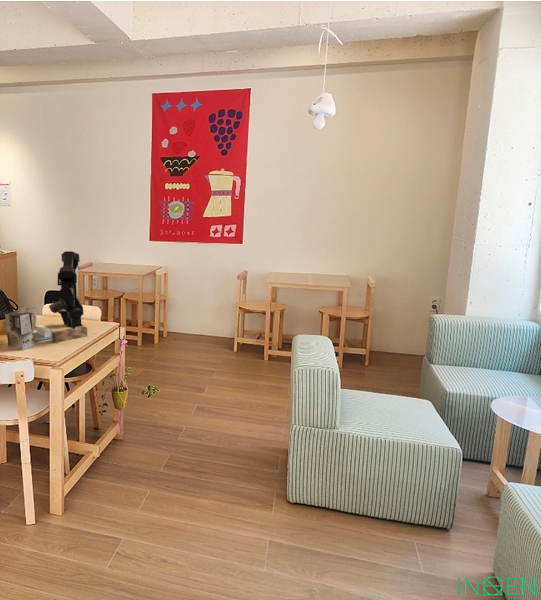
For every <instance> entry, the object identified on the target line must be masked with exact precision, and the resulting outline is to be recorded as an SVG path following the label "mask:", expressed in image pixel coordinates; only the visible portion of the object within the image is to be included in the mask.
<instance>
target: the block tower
mask: <svg viewBox="0 0 541 600" xmlns="http://www.w3.org/2000/svg"><path fill="white" fill-rule="evenodd" d="M19 311H20V312H28V313H31V316H32V330H33V332H34V331H35V328H36V326H37V307H36V306H32V307H31V306H29V307H20V308H19Z"/></svg>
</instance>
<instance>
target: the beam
mask: <svg viewBox="0 0 541 600" xmlns="http://www.w3.org/2000/svg"><path fill="white" fill-rule="evenodd" d="M53 331H54V332H52V339H51V342H53V343H54V344H55V343H56V344H57V343H63V342H68V341H73V340H77V339H81V338H82V339H83V338H87V337H88V327H86V326H84V325H82V326H76V327H75V329H72V327H70V328H66V329H61V330H56V331H55V330H53ZM72 339H73V340H72ZM67 340H68V341H67Z"/></svg>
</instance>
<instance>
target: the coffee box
mask: <svg viewBox="0 0 541 600" xmlns="http://www.w3.org/2000/svg"><path fill="white" fill-rule="evenodd" d="M4 315H5V326H6V327H5V328H6V336H7V347H9V348H10V349H15V350H21V351H24V350H26V349H29V348H34V345H35V344H34V340H33V333H34V331H33V330H32V316H31V313H28V312H20V310H19V311H18V310H15V311H11V312H8V313H5V314H4Z"/></svg>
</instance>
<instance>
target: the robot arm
mask: <svg viewBox="0 0 541 600" xmlns="http://www.w3.org/2000/svg"><path fill="white" fill-rule="evenodd" d="M60 255H61V262H62V263H63V264H62V266H61V267H60V268H59V271H58V272H57V286H60V290H58V297H59V300H58V301H56V302H53V303H52V304H50V305H49V306H48V308H49V309H50V312H51V313H53V314H57V313H58V314H59V315H60V316H61V320H62V322H63V324H64V325H65V326H67V327H70V328H72V329H75V328H76V327H81V326H84V324H82V316H83V315H84V306H83V304H82V303H81V300H80V298H79V297H78V295H77V293H78V290H77V281H78V275H77V268H78V266H79V265H80V264H79V263H80V262H81V259H80V254H79V253H77V252H75V251H71V250H69V251H67V250H66V251H63V253H61V254H60Z"/></svg>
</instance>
